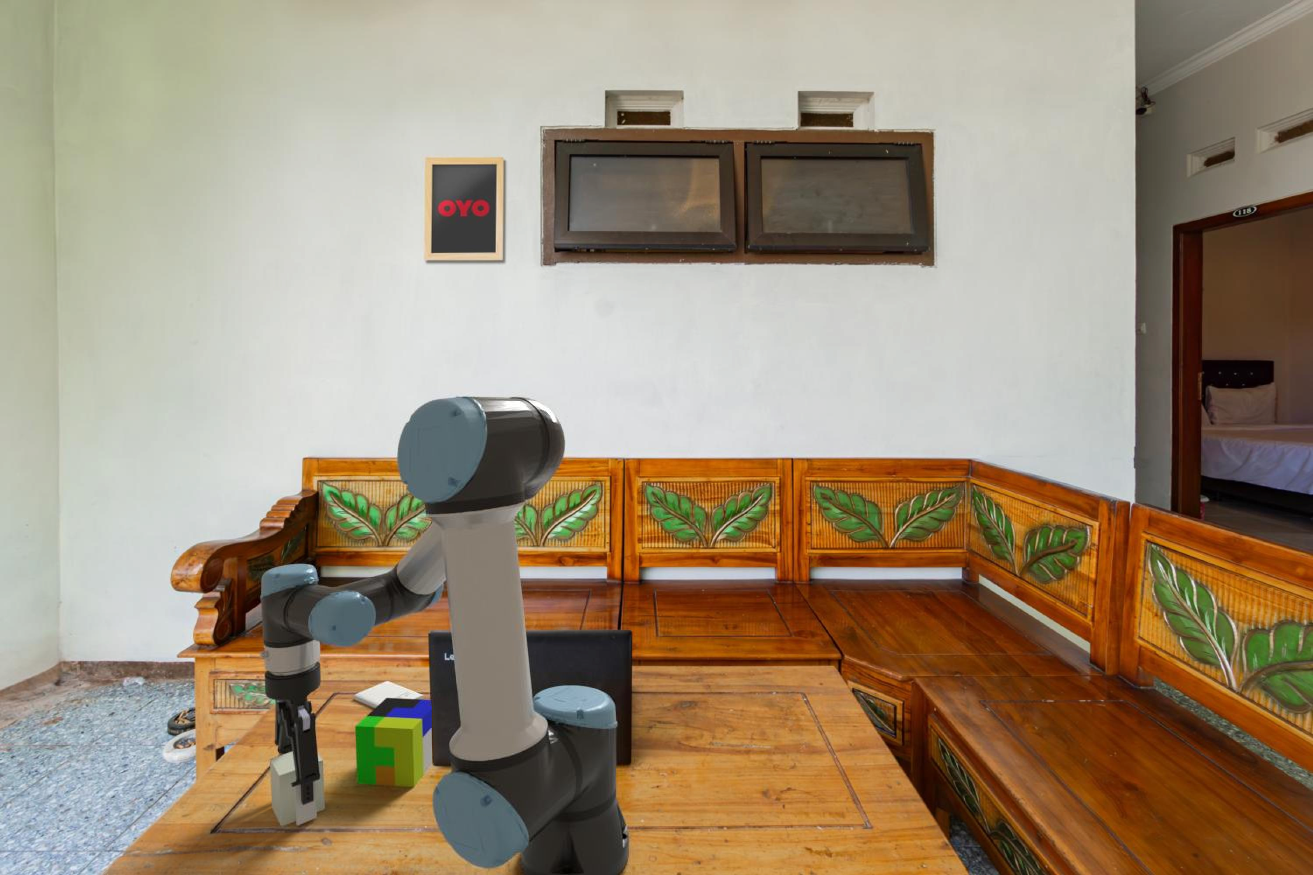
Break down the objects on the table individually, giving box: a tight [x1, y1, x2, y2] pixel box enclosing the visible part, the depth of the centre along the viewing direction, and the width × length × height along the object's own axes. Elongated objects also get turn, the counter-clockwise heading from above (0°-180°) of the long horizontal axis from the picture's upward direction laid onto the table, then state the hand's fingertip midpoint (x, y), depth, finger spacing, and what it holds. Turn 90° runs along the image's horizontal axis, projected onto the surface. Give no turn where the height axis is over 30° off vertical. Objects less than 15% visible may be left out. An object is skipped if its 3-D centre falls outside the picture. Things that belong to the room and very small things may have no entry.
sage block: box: [269, 751, 326, 827], centre depth 99 cm, size 6×6×8 cm
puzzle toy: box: [354, 698, 433, 788], centre depth 110 cm, size 10×10×10 cm
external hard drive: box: [353, 680, 425, 709], centre depth 136 cm, size 2×8×12 cm
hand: (298, 805), depth 99 cm, fingers open, 9 cm apart
